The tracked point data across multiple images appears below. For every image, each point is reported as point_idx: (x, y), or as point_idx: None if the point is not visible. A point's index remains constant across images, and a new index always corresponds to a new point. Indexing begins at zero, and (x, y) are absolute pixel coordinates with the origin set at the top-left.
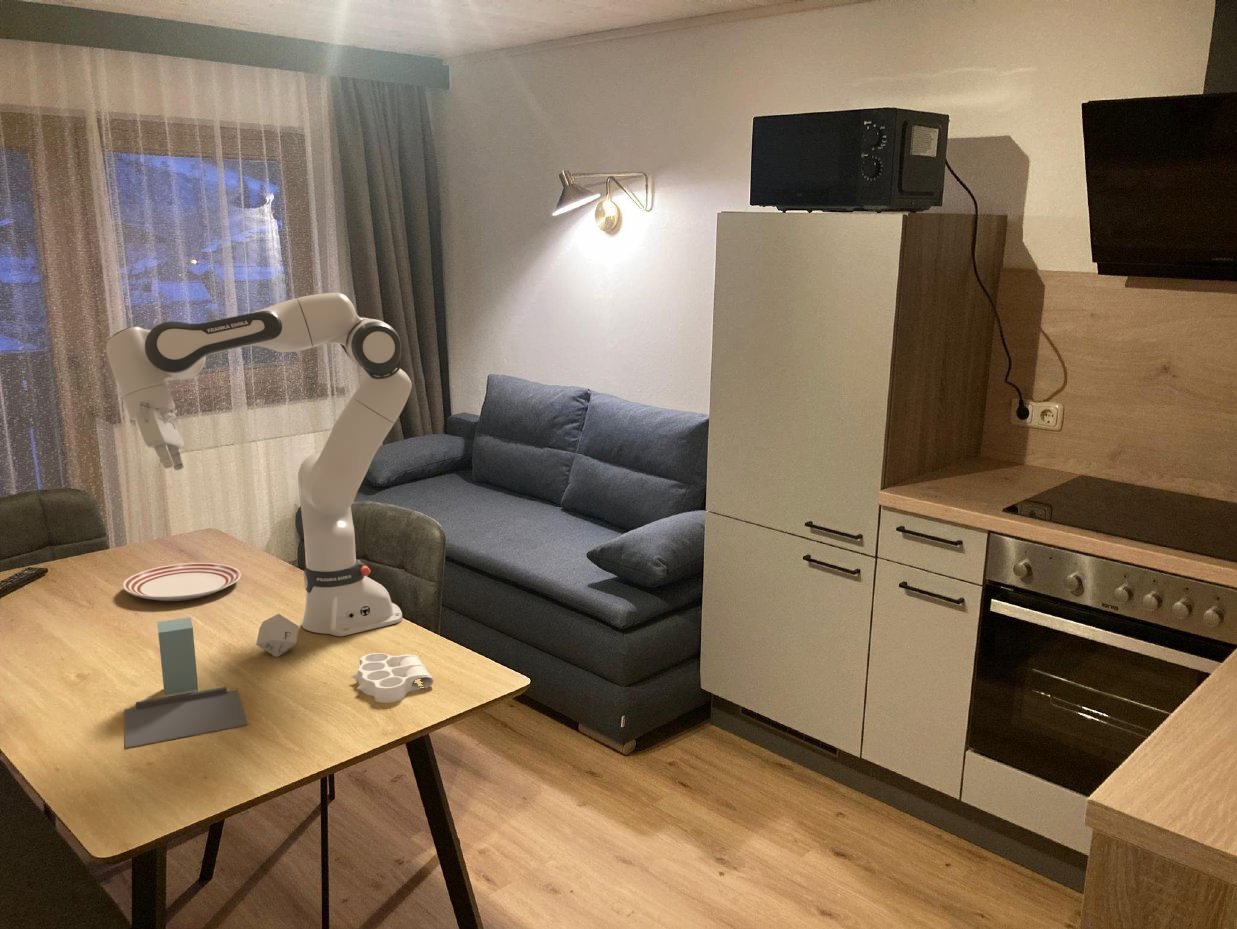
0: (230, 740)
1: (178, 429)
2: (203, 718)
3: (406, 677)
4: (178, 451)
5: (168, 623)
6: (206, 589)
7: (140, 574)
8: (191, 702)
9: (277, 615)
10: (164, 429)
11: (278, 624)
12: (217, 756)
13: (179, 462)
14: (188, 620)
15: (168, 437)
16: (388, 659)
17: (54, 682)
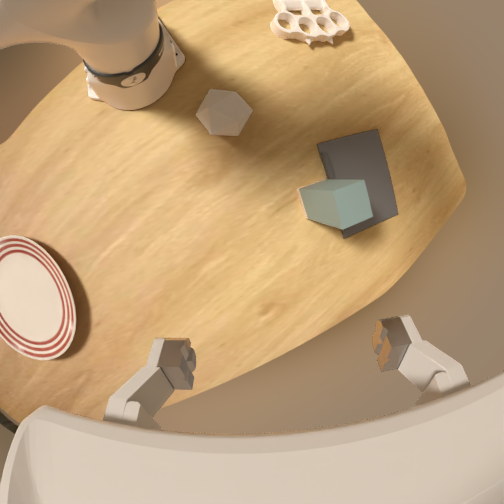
0: (394, 139)
1: (23, 489)
2: (367, 164)
3: (329, 8)
4: (139, 408)
5: (348, 213)
6: (29, 269)
7: (21, 350)
8: None
9: (215, 107)
10: (489, 455)
11: (239, 103)
12: (410, 146)
13: (184, 363)
14: (342, 191)
15: (458, 421)
16: (291, 13)
17: (277, 326)
